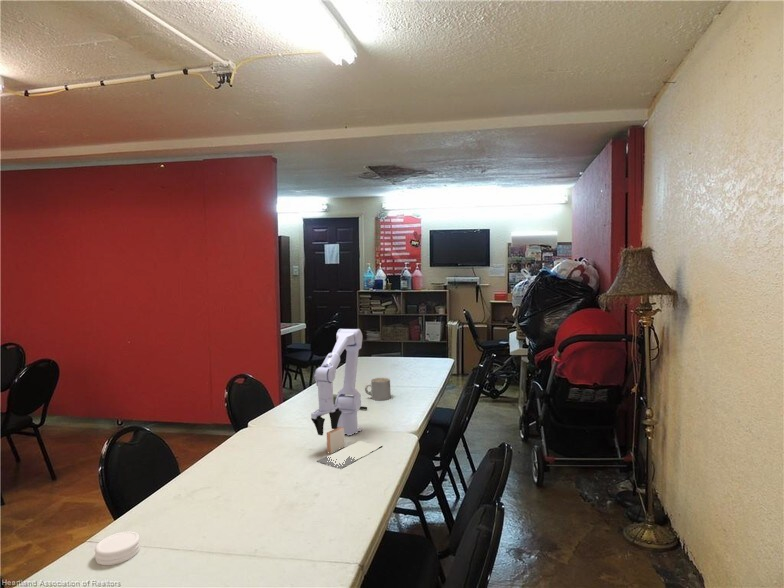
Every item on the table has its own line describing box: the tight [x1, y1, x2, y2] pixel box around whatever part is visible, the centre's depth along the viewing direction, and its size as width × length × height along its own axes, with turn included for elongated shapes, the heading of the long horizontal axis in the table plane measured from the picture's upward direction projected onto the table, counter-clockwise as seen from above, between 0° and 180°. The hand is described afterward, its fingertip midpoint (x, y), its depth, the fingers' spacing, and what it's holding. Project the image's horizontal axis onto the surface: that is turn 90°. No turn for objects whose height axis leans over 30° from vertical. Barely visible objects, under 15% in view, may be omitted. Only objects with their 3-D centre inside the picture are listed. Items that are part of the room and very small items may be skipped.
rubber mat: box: [316, 455, 357, 469], centre depth 182 cm, size 12×24×1 cm, turn 144°
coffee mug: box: [364, 376, 392, 402], centre depth 256 cm, size 13×10×10 cm
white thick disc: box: [94, 530, 141, 566], centre depth 123 cm, size 10×10×4 cm
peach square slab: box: [326, 427, 345, 454], centre depth 186 cm, size 2×8×8 cm, turn 144°
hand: (327, 431), depth 189 cm, fingers open, 7 cm apart
